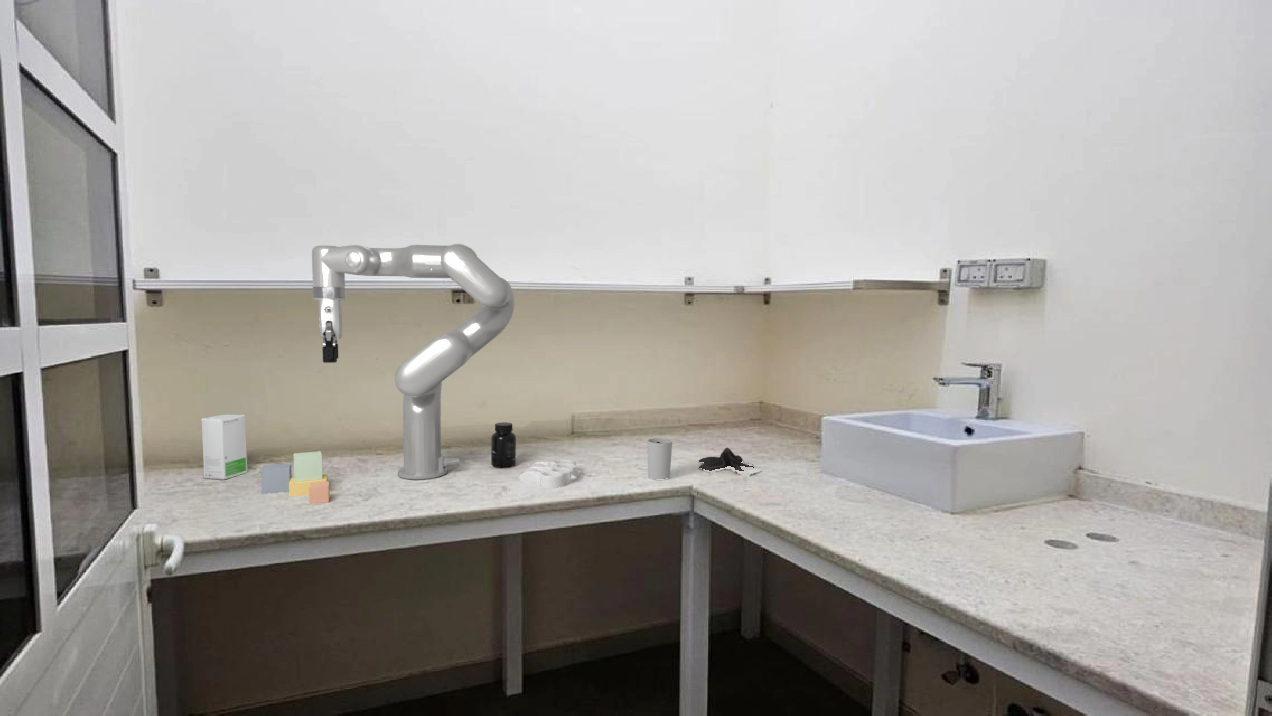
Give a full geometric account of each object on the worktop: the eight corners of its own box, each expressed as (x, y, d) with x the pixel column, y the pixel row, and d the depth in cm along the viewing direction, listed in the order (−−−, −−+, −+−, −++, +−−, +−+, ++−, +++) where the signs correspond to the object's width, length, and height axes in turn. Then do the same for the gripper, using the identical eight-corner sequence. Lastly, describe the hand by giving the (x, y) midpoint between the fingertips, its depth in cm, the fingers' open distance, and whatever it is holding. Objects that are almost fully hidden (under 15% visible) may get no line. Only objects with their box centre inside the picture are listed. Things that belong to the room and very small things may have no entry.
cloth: (766, 479, 183) (767, 457, 182) (697, 477, 184) (698, 455, 183) (756, 459, 205) (756, 439, 204) (695, 457, 206) (695, 438, 205)
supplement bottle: (486, 467, 188) (486, 424, 187) (500, 461, 195) (500, 420, 193) (507, 469, 186) (507, 427, 185) (520, 464, 192) (520, 422, 191)
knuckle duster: (535, 469, 188) (587, 472, 186) (515, 487, 170) (571, 490, 168) (535, 457, 188) (587, 460, 186) (515, 474, 170) (571, 477, 168)
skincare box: (223, 480, 171) (221, 420, 169) (201, 478, 172) (199, 418, 170) (249, 472, 179) (246, 414, 177) (227, 470, 180) (225, 413, 179)
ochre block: (328, 487, 167) (327, 474, 167) (326, 494, 162) (326, 480, 161) (292, 490, 164) (291, 476, 164) (289, 497, 159) (288, 483, 158)
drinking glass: (641, 477, 181) (642, 440, 180) (657, 472, 185) (658, 437, 185) (660, 482, 176) (661, 444, 175) (676, 477, 181) (677, 440, 180)
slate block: (292, 487, 166) (291, 463, 165) (290, 492, 162) (289, 467, 162) (264, 489, 164) (263, 465, 163) (261, 494, 160) (260, 469, 159)
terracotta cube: (329, 498, 158) (329, 481, 158) (328, 503, 154) (328, 486, 154) (311, 499, 157) (310, 482, 156) (309, 504, 153) (309, 487, 153)
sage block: (321, 475, 166) (320, 451, 165) (322, 479, 162) (321, 454, 162) (294, 477, 163) (293, 453, 162) (294, 482, 159) (293, 457, 159)
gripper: (344, 294, 166) (345, 363, 168) (346, 294, 182) (347, 357, 184) (310, 294, 164) (312, 364, 165) (315, 293, 180) (317, 357, 181)
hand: (330, 360), depth 175 cm, fingers open, 9 cm apart
